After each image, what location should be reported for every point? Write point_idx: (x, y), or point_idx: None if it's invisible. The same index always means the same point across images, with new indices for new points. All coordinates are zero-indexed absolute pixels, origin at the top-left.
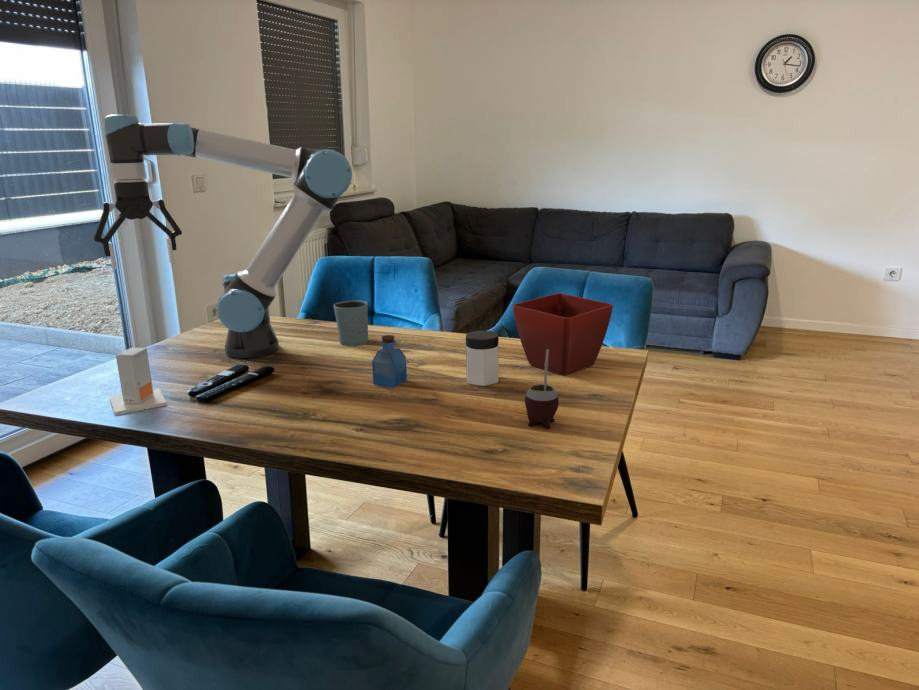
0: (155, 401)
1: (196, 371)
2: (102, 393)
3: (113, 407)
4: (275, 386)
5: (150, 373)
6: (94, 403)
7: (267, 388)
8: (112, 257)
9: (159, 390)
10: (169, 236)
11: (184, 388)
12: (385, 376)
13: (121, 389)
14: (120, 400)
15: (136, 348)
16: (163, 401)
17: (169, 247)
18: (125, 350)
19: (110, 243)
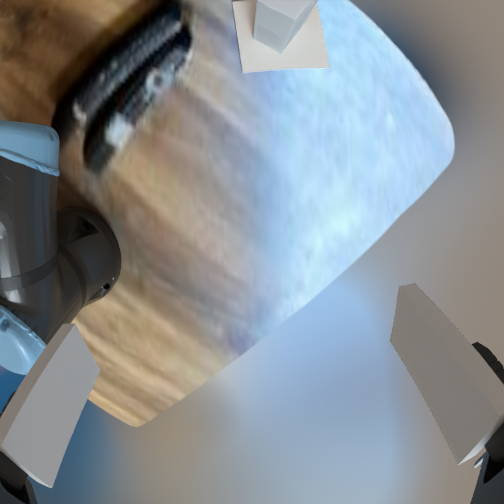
0: (250, 10)
1: (170, 164)
2: (341, 114)
3: (319, 17)
4: (64, 43)
5: (254, 23)
6: (351, 69)
7: (75, 36)
8: (451, 333)
9: (242, 58)
10: (11, 472)
11: (196, 70)
12: None
13: (309, 14)
14: (310, 41)
15: (281, 4)
16: (237, 5)
17: (25, 397)
18: (308, 2)
19: (496, 424)
